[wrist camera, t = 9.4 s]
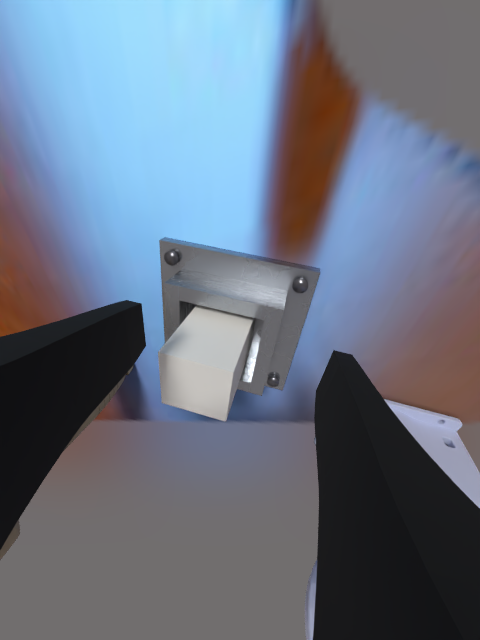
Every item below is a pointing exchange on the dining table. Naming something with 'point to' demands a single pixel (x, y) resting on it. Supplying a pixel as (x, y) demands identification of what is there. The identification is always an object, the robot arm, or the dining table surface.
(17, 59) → the dining table surface
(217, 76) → the dining table surface
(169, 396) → the block
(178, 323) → the bracket
